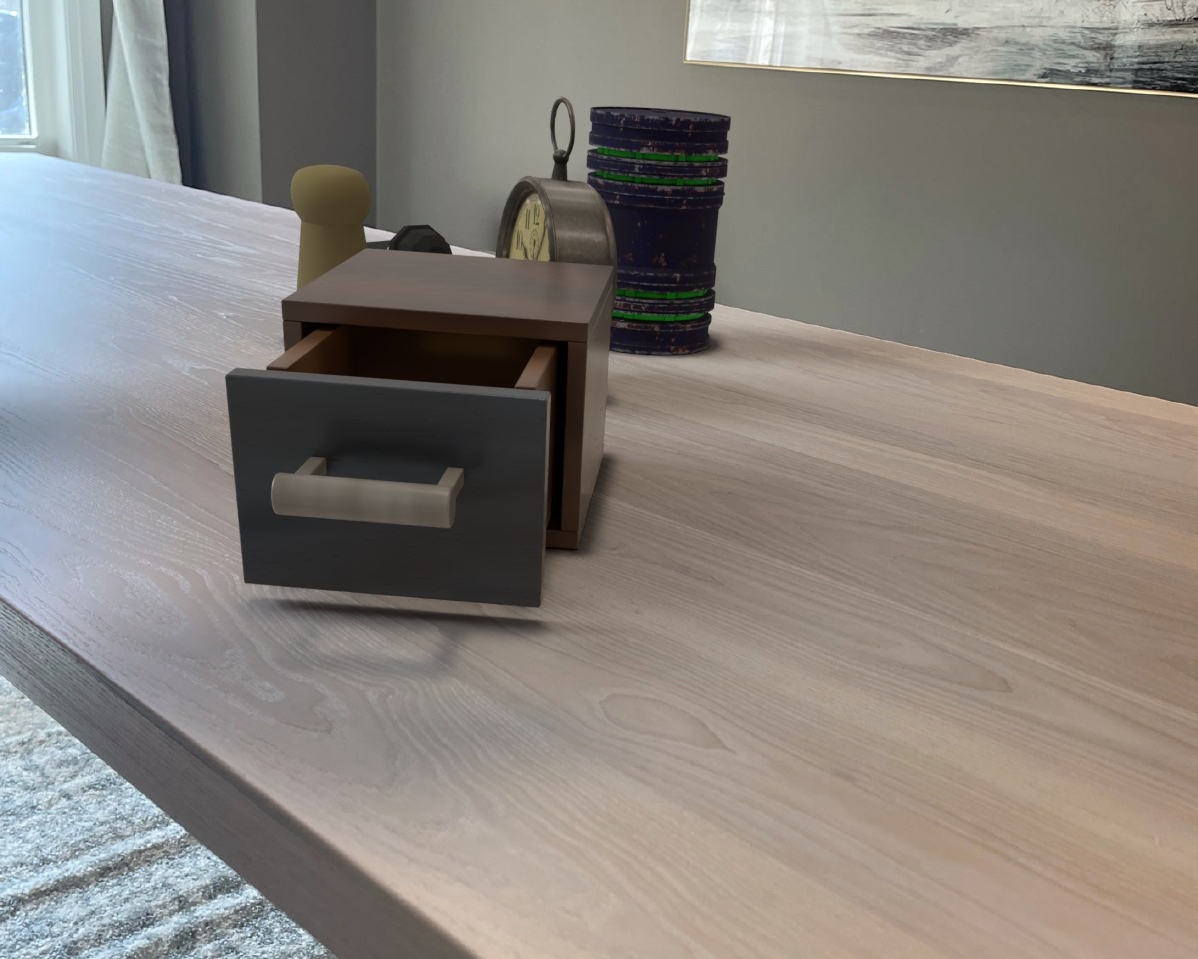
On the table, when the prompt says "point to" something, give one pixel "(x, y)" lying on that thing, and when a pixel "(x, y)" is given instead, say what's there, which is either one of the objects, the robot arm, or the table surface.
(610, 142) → the storage jar
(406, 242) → the microphone
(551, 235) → the alarm clock
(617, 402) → the table surface
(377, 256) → the cabinet
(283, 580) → the drawer
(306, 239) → the cork
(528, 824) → the table surface
